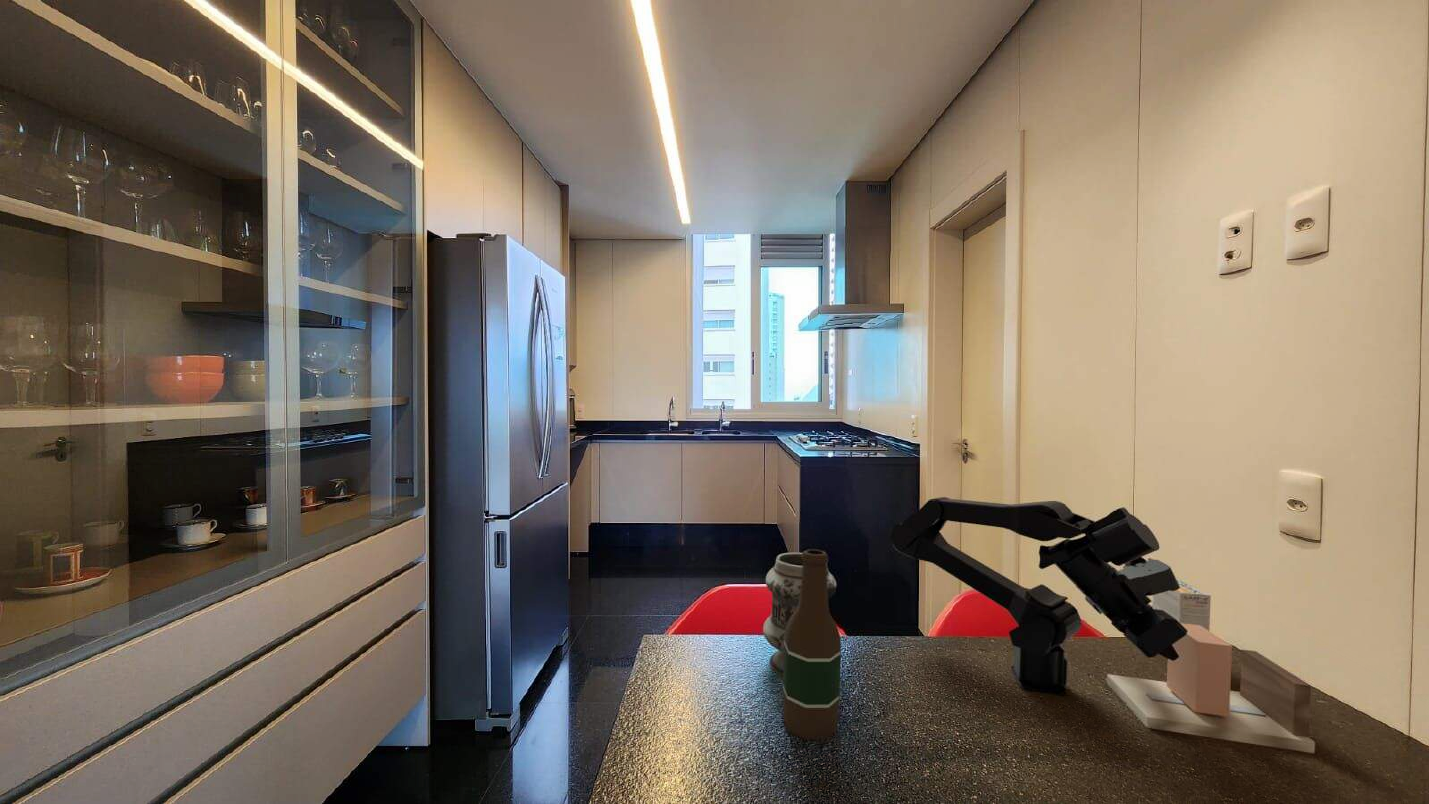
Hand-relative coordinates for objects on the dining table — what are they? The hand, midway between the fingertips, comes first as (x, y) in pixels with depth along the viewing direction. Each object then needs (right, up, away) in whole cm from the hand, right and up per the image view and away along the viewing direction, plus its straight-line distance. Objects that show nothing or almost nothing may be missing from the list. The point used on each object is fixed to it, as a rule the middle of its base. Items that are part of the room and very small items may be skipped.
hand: (1175, 658), depth 79 cm
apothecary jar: (-54, -7, +11) cm, 56 cm away
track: (+3, -8, 0) cm, 9 cm away
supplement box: (+15, -8, +17) cm, 25 cm away
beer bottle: (-55, -7, -5) cm, 56 cm away
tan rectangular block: (+3, -6, 0) cm, 7 cm away
